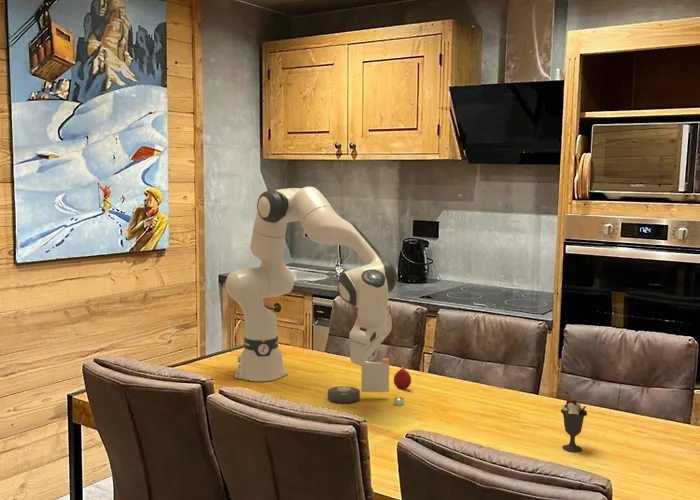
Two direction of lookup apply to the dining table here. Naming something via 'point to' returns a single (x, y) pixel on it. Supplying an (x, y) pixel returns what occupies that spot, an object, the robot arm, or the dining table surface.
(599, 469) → the dining table surface
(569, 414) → the sundae
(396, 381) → the onion
